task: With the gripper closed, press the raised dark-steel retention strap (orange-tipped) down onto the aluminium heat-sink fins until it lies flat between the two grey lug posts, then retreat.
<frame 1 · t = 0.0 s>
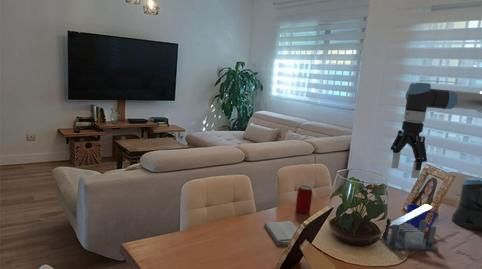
hand: (404, 172, 144), 28 cm above the table, fingers open, 13 cm apart
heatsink: (405, 242, 144), on the table
beverage can: (302, 211, 167), on the table
mug: (418, 229, 159), on the table
washcloth: (283, 236, 141), on the table
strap: (409, 216, 141), point 11 cm above the table, hinge at 30.0°
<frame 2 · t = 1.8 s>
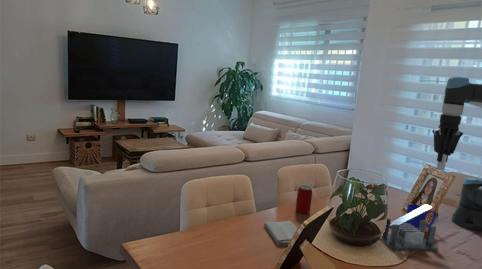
hand: (440, 169, 150), 29 cm above the table, fingers closed
nothing on the table moved.
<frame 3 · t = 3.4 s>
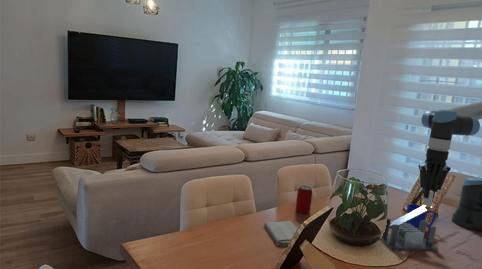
hand: (426, 205, 142), 16 cm above the table, fingers closed
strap: (409, 216, 141), point 11 cm above the table, hinge at 30.0°, touching gripper
everything else where it was.
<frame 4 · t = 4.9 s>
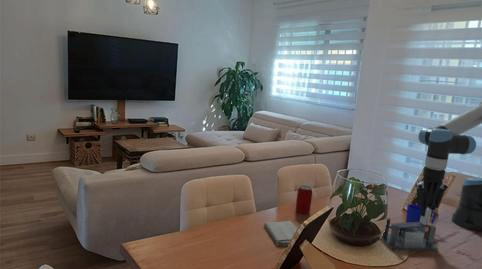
hand: (424, 223, 143), 9 cm above the table, fingers closed, pressing on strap
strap: (410, 225, 142), point 8 cm above the table, hinge at 4.4°, touching gripper
everything else where it was.
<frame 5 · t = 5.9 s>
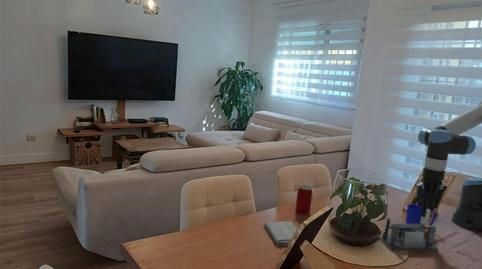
hand: (424, 223, 143), 8 cm above the table, fingers closed
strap: (410, 226, 142), point 7 cm above the table, hinge at 0.8°
everything else where it was.
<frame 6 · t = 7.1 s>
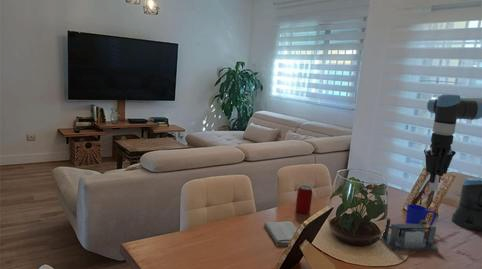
hand: (433, 190, 143), 22 cm above the table, fingers closed
nothing on the table moved.
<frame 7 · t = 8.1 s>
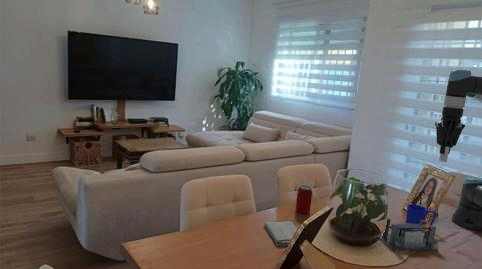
hand: (442, 161, 152), 32 cm above the table, fingers closed
nothing on the table moved.
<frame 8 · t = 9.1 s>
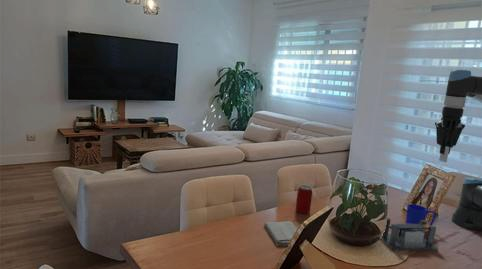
hand: (442, 161, 152), 32 cm above the table, fingers closed
nothing on the table moved.
at the end: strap at +1° (first picture: +30°); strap touching nothing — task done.
